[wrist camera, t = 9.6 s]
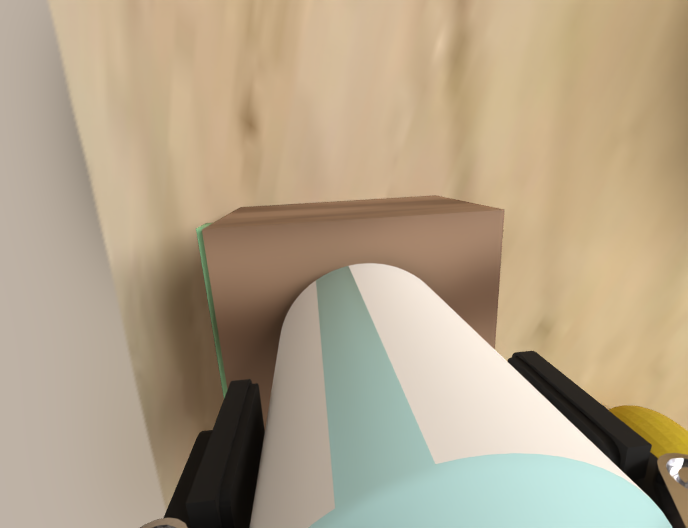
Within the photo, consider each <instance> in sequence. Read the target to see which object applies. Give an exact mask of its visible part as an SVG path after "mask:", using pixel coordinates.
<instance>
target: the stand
mask: <svg viewBox="0 0 688 528" xmlns="http://www.w3.org/2000/svg"><path fill="white" fill-rule="evenodd" d="M503 223H504V210H503V209H498V208H494V207H489V206H484V205H479V204H474V203H469V202H465V201H460V200H455V199H450V198H445V197H440V196H420V197H404V198H387V199H371V200H354V201H338V202H321V203H305V204H288V205H272V206H255V207H240V208H239V209H237V210H235V211H233V212H232V213H230V214H228V215H226V216H225V217H223V218H221V219H219V220H218V221H216V222H214V223H206V224H204V225H202V226H200V227H198V228H196V231H197V237H198V244H199V250H200V256H201V262H202V268H203V274H204V280H205V286H206V292H207V298H208V304H209V311H210V317H211V323H212V329H213V335H214V341H215V347H216V353H217V359H218V365H219V371H220V378H221V384H222V390H223V396H224V398H225V395H226V393H227V390H228V387H229V385H230V382H231V381H235V380H245V379H251V381H252V384H255V383H258V385H259V391H260V398H261V406H262V414H263V421H264V429H265V428H266V421H267V415H268V409H269V403H270V396H271V390H272V384H273V378H274V371H275V365H276V359H277V353H278V346H279V340H280V334H281V329H282V326H283V323H284V320H285V317H286V315H287V313H288V311H289V309H290V307H291V306H292V304H293V303H294V301H295V300H296V299H297V297H298V296H299V295H300V294H301V293H302V292H303V291H304V290H305V289H306V288H307V287H308V286H309V285H310V284H312V283H313V282H314V281H316V280H317V279H319V278H320V277H322V276H323V275H325V274H327V273H329V272H331V271H334V270H336V269H339V268H342V267H346V266H350V265H355V264H364V263H376V264H385V265H390V266H394V267H397V268H400V269H402V270H405V271H407V272H409V273H411V274H413V275H415V276H416V277H417V278H419V279H420V280H422V281H423V282H424V283H425V284H426V285H427V286H428V287H430V288H431V289H432V290H433V291H434V292H435V293H436V294H437V295H438V296H439V297H440V298H441V299H442V300H443V301H444V302H445V303H446V304H447V305H448V306H449V307H450V308H452V309H453V310H454V311H455V312H456V313H457V314H458V315H459V316H460V317H461V318H462V319H463V320H464V321H465V322H466V323H467V324H468V325H469V326H470V327H471V328H473V329H474V330H475V331H476V332H477V333H478V334H479V335H480V336H481V337H482V338H483V339H484V340H485V341H486V342H487V343H488V344H489V345H490V346H491V347H492V348H493V349H495V338H496V323H497V309H498V295H499V281H500V266H501V252H502V238H503Z"/></svg>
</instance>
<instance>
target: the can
mask: <svg viewBox="0 0 688 528" xmlns="http://www.w3.org/2000/svg"><path fill="white" fill-rule="evenodd" d="M250 528H673V527H672V526H671V524H670V523H669V521H668V520H667V518H666V517H665V515H664V513H663V512H662V511H661V510H660V508H659V507H658V506H657V505H656V504H655V503H654V502H653V500H652V499H651V498H650V497H649V496H648V495H647V494H646V493H644V492H643V491H642V490H641V489H640V488H639V487H638V486H637V485H636V484H635V483H634V482H633V481H632V480H631V479H630V478H629V477H628V476H627V475H626V474H625V473H624V472H622V471H621V470H620V469H619V468H618V467H617V466H616V465H615V464H614V463H613V462H612V461H611V460H610V459H609V458H608V457H607V456H606V455H605V454H604V453H603V452H601V451H600V450H599V449H598V448H597V447H596V446H595V445H594V444H593V443H592V442H591V441H590V440H589V439H588V438H587V437H586V436H585V435H584V434H583V433H582V432H581V431H579V430H578V429H577V428H576V427H575V426H574V425H573V424H572V423H571V422H570V421H569V420H568V419H567V418H566V417H565V416H564V415H563V414H562V413H561V412H560V411H558V410H557V409H556V408H555V407H554V406H553V405H552V404H551V403H550V402H549V401H548V400H547V399H546V398H545V397H544V396H543V395H542V394H541V393H540V392H539V391H538V390H536V389H535V388H534V387H533V386H532V385H531V384H530V383H529V382H528V381H527V380H526V379H525V378H524V377H523V376H522V375H521V374H520V373H519V372H518V371H517V370H515V369H514V368H513V367H512V366H511V365H510V364H509V363H508V362H507V361H506V360H505V359H504V358H503V357H502V356H501V355H500V354H499V353H498V352H497V351H496V350H495V349H493V348H492V347H491V346H490V345H489V344H488V343H487V342H486V341H485V340H484V339H483V338H482V337H481V336H480V335H479V334H478V333H477V332H476V331H475V330H474V329H473V328H471V327H470V326H469V325H468V324H467V323H466V322H465V321H464V320H463V319H462V318H461V317H460V316H459V315H458V314H457V313H456V312H455V311H454V310H453V309H452V308H450V307H449V306H448V305H447V304H446V303H445V302H444V301H443V300H442V299H441V298H440V297H439V296H438V295H437V294H436V293H435V292H434V291H433V290H432V289H431V288H430V287H428V286H427V285H426V284H425V283H424V282H423V281H422V280H420V279H419V278H417V277H416V276H415V275H413V274H411V273H409V272H407V271H405V270H402V269H400V268H397V267H394V266H390V265H385V264H376V263H364V264H355V265H350V266H346V267H342V268H339V269H336V270H334V271H331V272H329V273H327V274H325V275H323V276H322V277H320V278H319V279H317V280H316V281H314V282H313V283H312V284H310V285H309V286H308V287H307V288H306V289H305V290H304V291H303V292H302V293H301V294H300V295H299V296H298V297H297V299H296V300H295V301H294V303H293V304H292V306H291V307H290V309H289V311H288V313H287V315H286V317H285V320H284V323H283V326H282V329H281V334H280V340H279V346H278V353H277V359H276V365H275V371H274V378H273V384H272V390H271V396H270V403H269V409H268V415H267V421H266V428H265V434H264V440H263V446H262V453H261V459H260V465H259V471H258V478H257V484H256V490H255V496H254V503H253V509H252V515H251V521H250Z"/></svg>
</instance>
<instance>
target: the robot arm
mask: <svg viewBox="0 0 688 528" xmlns="http://www.w3.org/2000/svg"><path fill="white" fill-rule="evenodd" d="M508 363H509V364H510V365H511V366H512V367H513V368H514V369H515V370H517V371H518V372H519V373H520V374H521V375H522V376H523V377H524V378H525V379H526V380H527V381H528V382H529V383H530V384H531V385H532V386H533V387H534V388H535V389H536V390H538V391H539V392H540V393H541V394H542V395H543V396H544V397H545V398H546V399H547V400H548V401H549V402H550V403H551V404H552V405H553V406H554V407H555V408H556V409H557V410H558V411H560V412H561V413H562V414H563V415H564V416H565V417H566V418H567V419H568V420H569V421H570V422H571V423H572V424H573V425H574V426H575V427H576V428H577V429H578V430H579V431H581V432H582V433H583V434H584V435H585V436H586V437H587V438H588V439H589V440H590V441H591V442H592V443H593V444H594V445H595V446H596V447H597V448H598V449H599V450H600V451H601V452H603V453H604V454H605V455H606V456H607V457H608V458H609V459H610V460H611V461H612V462H613V463H614V464H615V465H616V466H617V467H618V468H619V469H620V470H621V471H622V472H624V473H625V474H626V475H627V476H628V477H629V478H630V479H631V480H632V481H633V482H634V483H635V484H636V485H637V486H638V487H639V488H640V489H641V490H642V491H643V492H644V493H646V494H647V495H648V496H649V497H650V498H651V499H652V500H653V502H654V503H655V504H656V505H657V506H658V507H659V508H660V510H661V511H662V512H663V513H664V515H665V517H666V518H667V520H668V521H669V523H670V524H671V526H672V527H673V528H688V455H687V454H680V453H666V454H664V455H662V456H660V457H659V459H658V458H657V457H656V456H655V455H654V454H652V453H651V452H650V451H651V447H652V445H651V444H650V443H649V442H648V441H646V440H645V439H644V438H643V437H641V436H640V435H639V434H638V433H636V432H635V431H634V430H633V429H631V428H630V427H629V426H628V425H626V424H625V423H624V422H623V421H621V420H620V419H619V418H618V417H616V416H615V415H614V414H613V413H611V412H610V411H609V410H608V409H606V408H605V407H604V406H603V405H601V404H600V403H599V402H598V401H596V400H595V399H594V398H593V397H591V396H590V395H589V394H588V393H586V392H585V391H584V390H583V389H581V388H580V387H579V386H578V385H576V384H575V383H574V382H573V381H571V380H570V379H569V378H568V377H566V376H565V375H564V374H563V373H561V372H560V371H559V370H558V369H556V368H555V367H554V366H552V365H551V364H550V363H549V362H547V361H546V360H545V359H544V358H542V357H541V356H540V355H539V354H537V353H536V352H534V351H526V352H516V353H514V354H513V355H512V358H509V359H508ZM264 434H265V429H264V421H263V414H262V406H261V398H260V391H259V385H258V383H255V384H252V381H251V379H245V380H235V381H231V382H230V385H229V387H228V390H227V393H226V395H225V398H224V401H223V404H222V406H221V409H220V412H219V414H218V417H217V420H216V423H215V425H214V428H213V430H209V431H202V432H200V433H199V435H198V437H197V439H196V441H195V444H194V446H193V449H192V451H191V453H190V456H189V458H188V461H187V463H186V465H185V468H184V470H183V473H182V475H181V477H180V480H179V482H178V485H177V487H176V489H175V492H174V494H173V497H172V499H171V501H170V504H169V506H168V509H167V511H166V513H165V516H164V518H163V519H157V520H154V521H152V522H150V523H147V524H145V525H143V526H142V527H140V528H250V521H251V515H252V509H253V503H254V496H255V490H256V484H257V478H258V471H259V465H260V459H261V453H262V446H263V440H264Z"/></svg>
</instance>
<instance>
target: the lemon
mask: <svg viewBox="0 0 688 528" xmlns="http://www.w3.org/2000/svg"><path fill="white" fill-rule="evenodd" d="M609 411H610V412H611V413H613V414H614V415H615V416H616V417H618V418H619V419H620V420H621V421H623V422H624V423H625V424H626V425H628V426H629V427H630V428H631V429H633V430H634V431H635V432H636V433H638V434H639V435H640V436H641V437H643V438H644V439H645V440H646V441H648V442H649V443H650V444H651V445H652V447H651V451H650V452H651V453H652V454H654V455H655V456H656V457H657V458H658V459H659V457H660V456H662V455H664V454H666V453H680V454H687V455H688V431H687V430H685V429H684V428H683V427H681V426H680V425H679V424H677V423H676V422H674V421H673V420H671V419H670V418H668V417H666V416H664V415H662V414H660V413H658V412H656V411H653V410H650V409H647V408H643V407H639V406H619V407H614V408H612V409H610V410H609Z"/></svg>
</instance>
